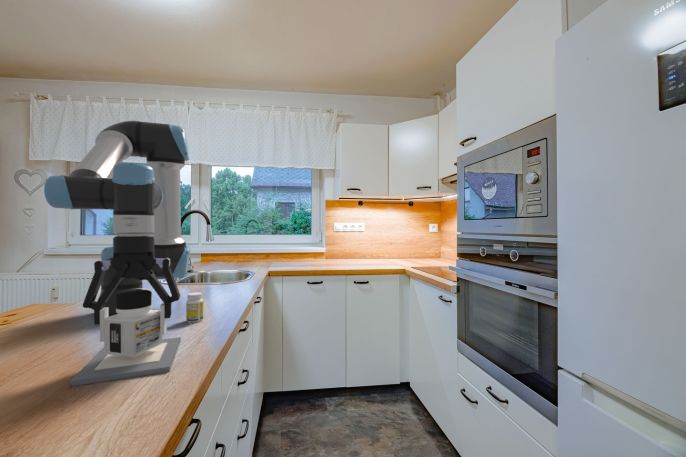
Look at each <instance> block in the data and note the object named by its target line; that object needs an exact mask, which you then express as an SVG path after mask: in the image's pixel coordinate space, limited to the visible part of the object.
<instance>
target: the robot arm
mask: <svg viewBox="0 0 686 457" xmlns="http://www.w3.org/2000/svg"><path fill="white" fill-rule="evenodd" d="M94 140H95V145H94V146H93V147H92V148H90V150H89V151H88V153H87V154H86V155H85V156H84V157H83V159H81V161H80V162H79V163H78V164H77V166H76V167H75V168H74V169H73V170H72V171H71V173H70V174H69V175H64V174H61V175H51V176H48V177H47V178H46V180H45V182H44V186H43V193H44V197H45V201H46V202H47V203H48V204H49V206H50V207H52V208H54V209H66V210H111V211H113V213H112V233H113V234H116V235H115V236H114V237H113V238H112V246H107V247H104V248H102V250H101V253H100V259H99V260H97V261H94V263H93V266H94V267H93V268H94V274H93V275H92V279H91V281H90V284H89V286H88V290H87V292H86V295H85V298H84V301H83V303H82V307H83V308H84V309H92V310H93V317H94V319H93V320H94V321H93V322H94V325H95V326H99V342H104V319H105V318H106V317H109V316H113V315H116V314H118V313H117V312H116V295H117V294H118V293H119V292H121V291H124V290H128V289H137V288H144V286H143V281H147V282H148V283H149V284H150V286H151V287H152V289H153V290H154V292H155V293H156V295H158V297H159V298H160V300H161V301H162V302H161V304H160V306H159V310H160V335H163V336H164V335H165V334H166V332H167V319H170V318H171V316H172V304H173V303H174V302H177V301H179V300H180V298H181V294H180V293H181V292H179V289H178V286H177V283H176V280H175V279H180V278H184V277H185V276H186V275H187V274H188V268H189V262H190V254H191V246H190V245H187V240H185V239H184V238H183V237H182V221H181V220H182V218H181V217H182V213H181V210H182V209H181V208H182V207H181V206H182V205H181V170H182V169H183V168H184V167H185V165H186V164H185V163H186V162H187V161H189V160H190V151H189V144H188V139H187V134H186V131H185V129H184V127H182V126H179V125H175V124H170V123H168V124H167V123H158V122H148V121H139V120H126V121H121V122H117V123H114V124H111V125H109V126H108V127H106V128H104V129H102V130H101V131H100V132H99V133H98V134H97V136H96V137H95V139H94ZM130 157H136V158H137V157H138V158H146V164H143V163H137V162H124V160H127V159H129V158H130ZM159 280H165V282H166V283H167V286H168V289H169V291H170V294H169V292H168V291H167V290H166V289H165V288H164V286H163V285H162V283H161V282H160V281H159ZM99 290H100V293H99ZM98 293H99V295H98ZM170 295H171V296H170ZM97 296H98V299H97ZM96 300H97V301H96Z"/></svg>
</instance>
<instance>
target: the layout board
mask: <svg viewBox="0 0 686 457" xmlns="http://www.w3.org/2000/svg"><path fill="white" fill-rule="evenodd" d="M180 343H181V336H180V337H171V338H163V343H162V344H161V345H159V346H157V347H154V348H152V349H150V350H148V351H146V352H144V353H142V354H140V355H138V356H136V357H129V356H119V355H109V354H105V353H104V346H103V347H102V348H101V349H100V350H99V351H98V352H97V353H96V355H94V356H93V357H92V358H91V360H89V362H87V364H86V365H84V367H82V369H80V371H79V372H78V373H77V374H76V375H75V376H74V377H73V378H71V380H70V387H76V386H81V385H88V384H95V383H101V382H110V381H114V380H122V379H128V378H135V377H142V376H149V375H154V374H156V375H157V374H163V373H168V372H171V369H172V366H173V363H174V360H175V358H176V355H177V352H178V350H179V347H180V345H181V344H180Z"/></svg>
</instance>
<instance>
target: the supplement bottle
mask: <svg viewBox="0 0 686 457" xmlns="http://www.w3.org/2000/svg"><path fill="white" fill-rule="evenodd" d="M185 304H186V306H185V307H186V311H185V312H186V316H185V317H186V322H187V323H191V324H192V323H193V324H194V323H198V322H202V321H203V320H204V299H203V294H202V292H200V291H199V292H190V293H187V299H186V303H185Z"/></svg>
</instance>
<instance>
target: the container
mask: <svg viewBox="0 0 686 457" xmlns="http://www.w3.org/2000/svg"><path fill="white" fill-rule="evenodd" d="M116 312H117V313H118V314H116V315H113V316H109V317H106V318H105V319H104V341H103V342H104V345H103V347H104V353H105V354H109V355H119V356H129V357H136V356H138V355H140V354H142V353H144V352H146V351H148V350H150V349H152V348H154V347H157V346H159V345H161V344H162V343H163V339H164V338H163V336H164V335H160V309H159V310H158V309H153V291H152V290H151V289H149V288H145V287H143V288H137V289H128V290H124V291H121V292H119V293H118V294H117V295H116Z"/></svg>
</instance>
